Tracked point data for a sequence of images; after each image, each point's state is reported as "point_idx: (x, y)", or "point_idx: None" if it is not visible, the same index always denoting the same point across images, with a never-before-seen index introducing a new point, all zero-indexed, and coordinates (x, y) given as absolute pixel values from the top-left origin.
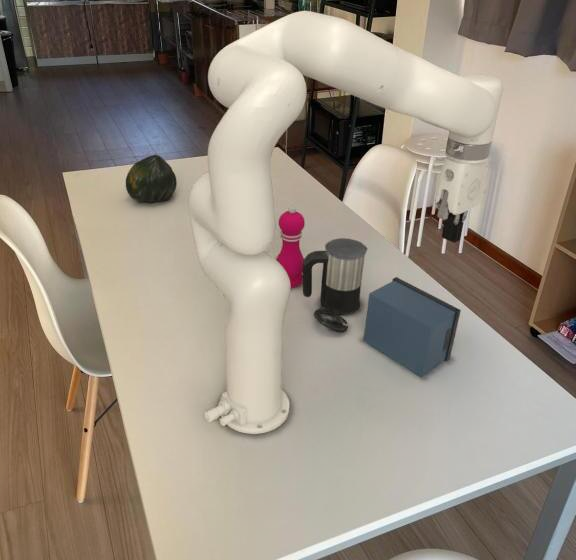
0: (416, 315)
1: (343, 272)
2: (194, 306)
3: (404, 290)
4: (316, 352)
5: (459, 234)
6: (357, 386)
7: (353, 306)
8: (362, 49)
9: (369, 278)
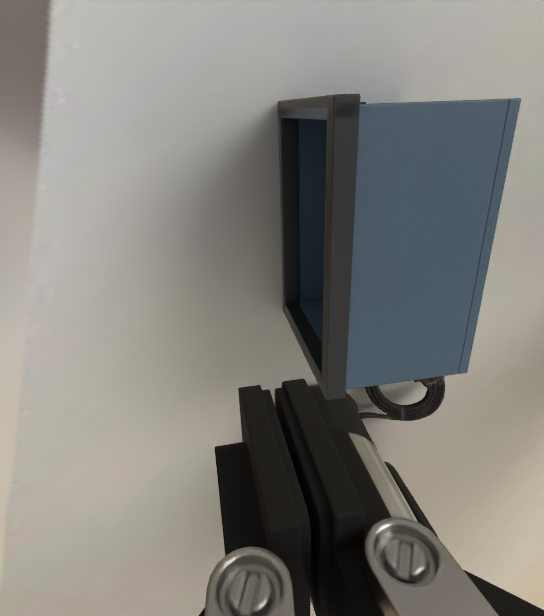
0: (482, 193)
1: (395, 486)
2: (510, 518)
3: (373, 328)
4: (483, 320)
5: (271, 423)
6: (524, 185)
7: (321, 397)
8: None
9: (171, 469)
